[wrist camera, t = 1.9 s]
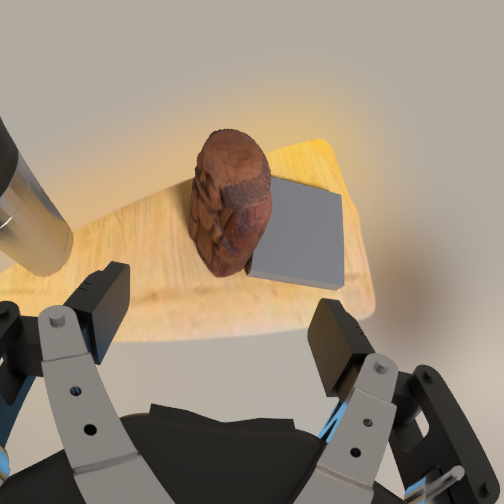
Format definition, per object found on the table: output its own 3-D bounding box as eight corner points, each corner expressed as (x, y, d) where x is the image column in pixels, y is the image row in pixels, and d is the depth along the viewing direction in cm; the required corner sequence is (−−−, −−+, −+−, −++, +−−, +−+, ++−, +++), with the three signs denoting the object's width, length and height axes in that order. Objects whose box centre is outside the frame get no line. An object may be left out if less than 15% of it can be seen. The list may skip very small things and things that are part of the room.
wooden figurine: (178, 212, 38) (177, 114, 22) (219, 198, 40) (241, 101, 24) (213, 288, 35) (233, 221, 19) (256, 269, 37) (307, 196, 21)
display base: (247, 276, 37) (251, 270, 35) (258, 184, 43) (262, 174, 40) (335, 290, 39) (344, 285, 36) (334, 202, 45) (341, 194, 42)
